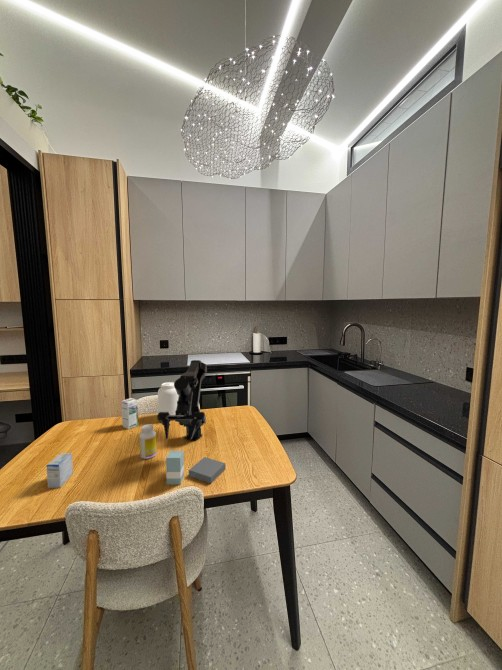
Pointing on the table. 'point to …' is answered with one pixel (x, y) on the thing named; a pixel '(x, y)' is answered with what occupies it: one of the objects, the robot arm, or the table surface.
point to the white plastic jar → (167, 398)
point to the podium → (207, 470)
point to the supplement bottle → (147, 442)
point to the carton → (175, 467)
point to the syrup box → (129, 413)
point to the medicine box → (59, 470)
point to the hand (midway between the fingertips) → (178, 439)
